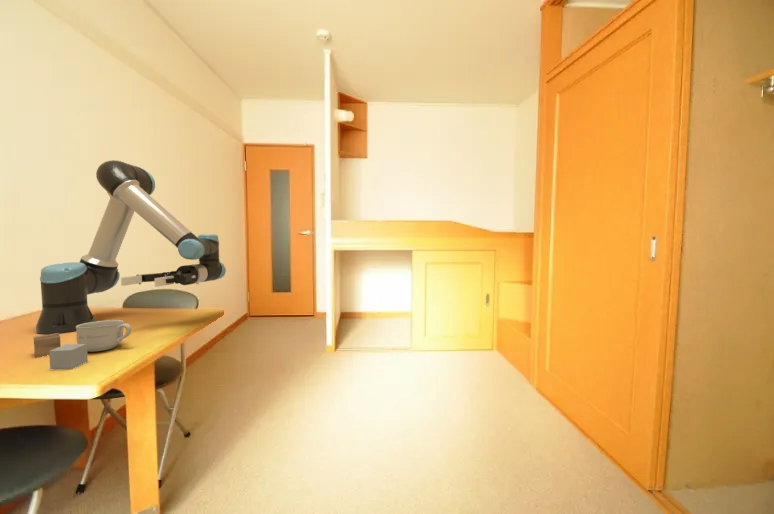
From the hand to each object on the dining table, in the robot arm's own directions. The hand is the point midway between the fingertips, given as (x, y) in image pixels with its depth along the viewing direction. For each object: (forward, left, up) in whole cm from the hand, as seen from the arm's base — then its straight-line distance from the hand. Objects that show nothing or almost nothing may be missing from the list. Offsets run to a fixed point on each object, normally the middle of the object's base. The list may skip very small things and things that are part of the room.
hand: (138, 282), depth 106 cm
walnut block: (-13, -17, -19) cm, 29 cm away
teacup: (-1, -10, -19) cm, 22 cm away
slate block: (+3, -22, -19) cm, 29 cm away
